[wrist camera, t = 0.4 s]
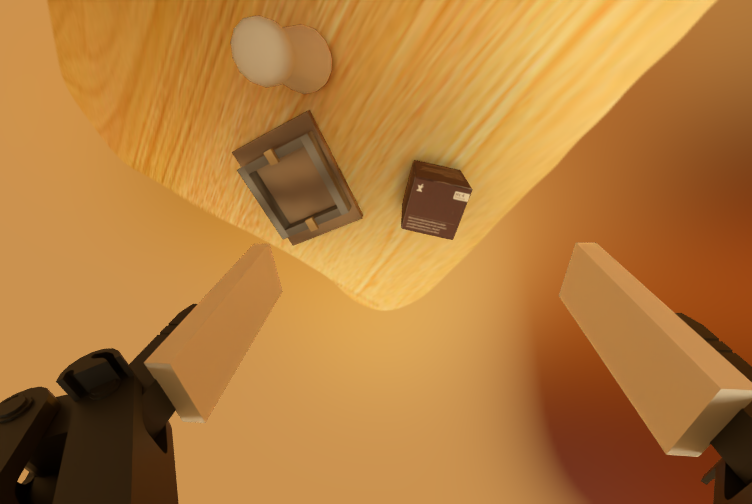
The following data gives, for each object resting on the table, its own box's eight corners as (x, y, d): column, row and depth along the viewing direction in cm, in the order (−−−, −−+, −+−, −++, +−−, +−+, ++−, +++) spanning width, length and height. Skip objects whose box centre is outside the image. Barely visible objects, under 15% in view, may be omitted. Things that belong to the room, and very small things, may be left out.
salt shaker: (291, 96, 34) (232, 104, 22) (276, 34, 31) (199, 8, 20) (342, 87, 33) (306, 91, 21) (330, 23, 30) (282, -11, 19)
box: (401, 204, 39) (399, 228, 32) (413, 158, 36) (414, 175, 29) (446, 215, 39) (453, 241, 33) (462, 170, 36) (473, 189, 29)
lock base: (235, 150, 37) (220, 157, 34) (309, 110, 34) (299, 113, 31) (295, 242, 43) (286, 254, 40) (363, 215, 40) (359, 226, 37)
